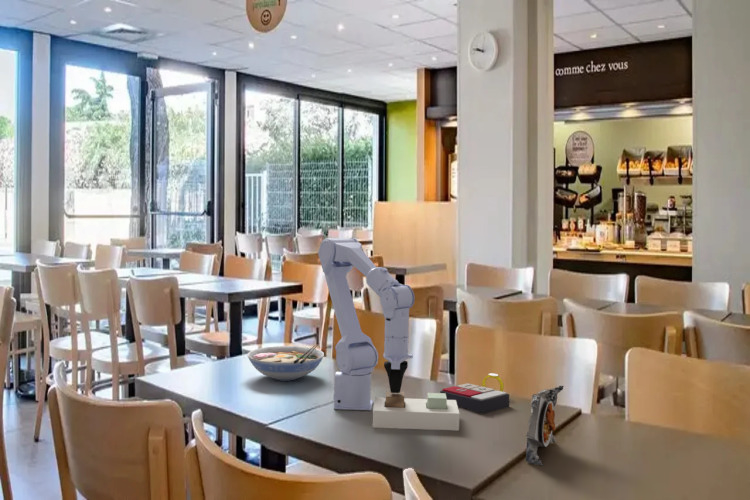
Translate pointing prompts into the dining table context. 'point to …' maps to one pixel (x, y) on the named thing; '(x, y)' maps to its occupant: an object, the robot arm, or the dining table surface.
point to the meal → (541, 422)
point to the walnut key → (395, 400)
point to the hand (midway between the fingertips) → (395, 392)
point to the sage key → (436, 401)
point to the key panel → (415, 415)
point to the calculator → (477, 398)
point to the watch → (493, 377)
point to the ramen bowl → (285, 361)
